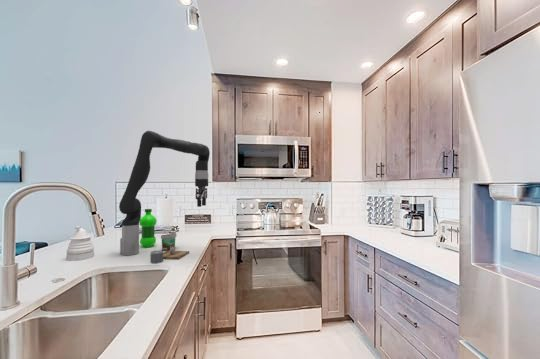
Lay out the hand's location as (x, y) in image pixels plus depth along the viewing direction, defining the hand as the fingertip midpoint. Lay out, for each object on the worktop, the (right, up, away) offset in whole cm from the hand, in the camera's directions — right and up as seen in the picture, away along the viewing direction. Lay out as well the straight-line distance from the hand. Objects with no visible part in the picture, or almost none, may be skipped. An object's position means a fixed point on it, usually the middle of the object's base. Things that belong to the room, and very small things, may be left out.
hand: (201, 206), depth 157 cm
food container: (-24, -29, +15) cm, 41 cm away
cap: (-21, -29, -13) cm, 38 cm away
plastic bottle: (-42, -30, +23) cm, 56 cm away
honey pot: (-68, -29, -4) cm, 74 cm away
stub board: (-16, -29, -2) cm, 33 cm away
